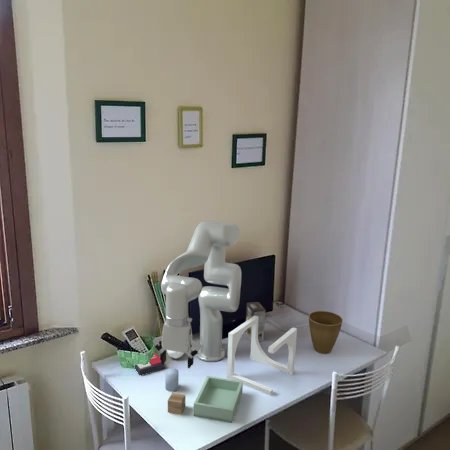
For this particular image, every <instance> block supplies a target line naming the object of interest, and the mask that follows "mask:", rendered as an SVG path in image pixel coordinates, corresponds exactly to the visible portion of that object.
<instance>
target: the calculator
mask: <svg viewBox="0 0 450 450" xmlns="http://www.w3.org/2000/svg"><path fill="white" fill-rule="evenodd" d="M135 369H136V370H135ZM135 369H134V370H135V372H136V371H137V372H138V373H137V372H136V373H137V374H138V376H140V375H141V376H143V375H142V374H144V375H147V374H146V373H148V374H151V373H153V372H156V371H160V370H161V371H162V370H164V369H165V363H164V364H161V360H160V355H158V353H155V354H154V355H153V357H152V358H151V360H150V362H148V364H146V365H143V364H137V365H135ZM150 372H151V373H150Z"/></svg>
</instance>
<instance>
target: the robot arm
mask: <svg viewBox="0 0 450 450" xmlns="http://www.w3.org/2000/svg"><path fill="white" fill-rule="evenodd" d="M240 233H241V232H240V227H239V226H238V224H235V223H232V222H231V223H230V222H219V221H209V220H208V221H200V222H199V224H198V225H197V226H196V228H195V230H194V232H193V234H192V236H191V240H190V242H189V244H188V247H187V249H186V251H185V252H183V253H182V254H180V255H179V256H177V257H176V258H174V259H173V260H172V261H171V262H170V263H169V264H168V266H167V267H166V269H165V272H164V274H163V276H162V280H161V283H160V289H161V292H162V294H164V295H165V321H164V323H163V325H162V332H161V333H162V334H161V335H160V336H158V337H155V338H153V339H152V343H153V344H154V348H155V349H156V350H157V351H158V354H159V357H160V360H161V364H164V365H165V362H166V361H167V350H170V351H177V352H184V354H186V355H187V356H188V357H187V368H188V369H191V367H192V366H193V365H194V357H195V356H196V357H197V358H198V359H199V360H201V361H203V362H213V363H214V362H219V361H221V360H222V359H223V358H225V356H226V351H225V349H224V348H222V345H223V344H222V343H223V342H222V341H223V338H222V337H223V315H222V313H221V312H227V313H234V312H237V311H238V309H239V305H240V300H241V286H242V269H241V266H239V264H237V263H231V262H226V248H228V247H231V246H234V245H236V244H237V243H238V241H239V238H240ZM202 265H204V266H203V267H204V269H203V279H204V281H205V282H206V283H209V284H212V285H220V286H227V287H228V288H226V287H220V286H212V285H211V286H210V285H209V286H208V285H207V286H203V284H202V282H201V280H199V278H195V277H192V276H191V277H189V276H183V275H178V274H180V273H182V272H183V271H186V270H188V269H192V268H196V267H200V266H202ZM197 298H198V305H199V314H200V315H199V316H200V318H199V322H200V323H199V324H200V325H199V343H198V342H196V341H195V340H193V330H192V324H191V323H192V321H193V318H192V317H189V315H190V314H189V302H191V301H193V300H195V299H197ZM160 342H161V344H160ZM192 347H194V348H195V349H194V350H193V348H192Z"/></svg>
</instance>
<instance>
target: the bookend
mask: <svg viewBox="0 0 450 450" xmlns="http://www.w3.org/2000/svg"><path fill="white" fill-rule="evenodd" d="M258 320H259V317H258V316H253V317H252V318H250V319H249V320H247V321H246V320H245V321H244V322H243V323H240V325H238V326H237V327H236V328H234V329H233V330H231V331H229V332H228V333H227V334H228V337H227V338H228V339H227V362H226V363H227V365H226V366H227V369H226V379H230V380H237V381H243V386H245V387H248V388H250V389H253V390H255V391H258V392H260V393H262V394H264V395H267V396H269V397H271V396H272V395H273V394H274V388H271V387H268V386H267V385H264V384H262V383H259V382H258V381H257V382H256V381H254V380H252V379H250V378H246V377H244V376H242V375H239V374H237V373H235V356H236V351H237V347H238V346H239V345H238V344H239V342H240V340H241V338H242V336H243V335H244V333H245V332H246V330H247V329H248V328H249V327H251V326H252V332H251V341H250V354H249V355H250V357H249V360H252V361H254V362H257V363H259V364H262V365H265V366H268V367H270V368H273V369H275V370H278V371H280V372H283V373H285V374H286V373H287V374H289V375H291V376H292V375H293V374H294V373H295V361H296V351H297V350H296V348H297V335H298V328H296V327H291V328H290V329H289V330H287V332H285V333H284V334H283V335H281V336H280V337H279V338H278V339H277V340H275V341H274V342H273V343H272V344H271V345H269V346H268V352H267V353H269V354H274V353H276V352H277V351H278V350H279V349H280V348H282V347H283V346H284V345H286V346H287V347H288V359H287V365H285V364H283V363H280V362H278V361H276V360H273V359H272V358H270V357H269V356H268V355H267V354H266V353H265V351H264V350H263V348H262V347H261V343H260V341H258Z"/></svg>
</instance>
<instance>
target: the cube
mask: <svg viewBox="0 0 450 450" xmlns="http://www.w3.org/2000/svg"><path fill="white" fill-rule="evenodd" d="M185 408H186V394H185V393H180V392H178V393H177V392H172V393H171V394H170V396H169V398H168V399H167V413H168V412H169V413H170V414H172V415H174V414H175V415H180V416H181V415H182V414H183V412H184V410H185Z"/></svg>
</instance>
